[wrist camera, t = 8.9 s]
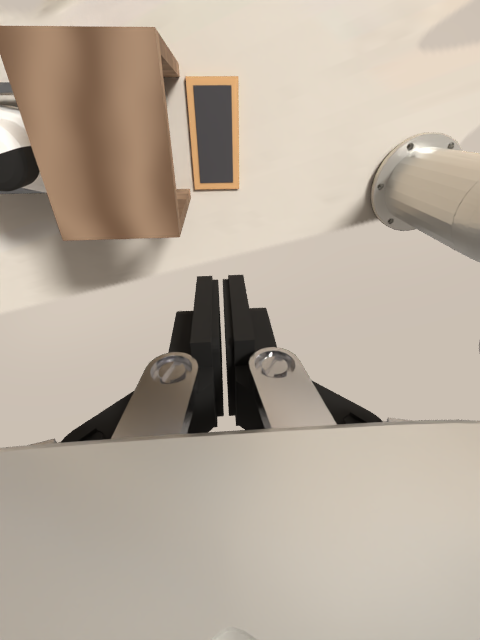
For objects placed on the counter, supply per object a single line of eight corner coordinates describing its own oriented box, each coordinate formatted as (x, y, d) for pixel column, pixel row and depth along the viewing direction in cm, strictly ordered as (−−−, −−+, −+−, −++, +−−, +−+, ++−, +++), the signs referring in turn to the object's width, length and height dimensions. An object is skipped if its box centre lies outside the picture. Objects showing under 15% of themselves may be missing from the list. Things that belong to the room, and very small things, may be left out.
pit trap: (238, 76, 35) (238, 76, 35) (238, 188, 42) (239, 188, 42) (185, 76, 35) (185, 76, 35) (195, 188, 42) (194, 189, 41)
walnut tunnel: (178, 63, 34) (154, 27, 21) (190, 198, 42) (179, 237, 29) (81, 63, 34) (-10, 25, 20) (112, 200, 42) (62, 240, 28)
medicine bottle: (79, 184, 40) (35, 206, 30) (19, 171, 39) (-47, 190, 29) (76, 121, 37) (24, 122, 27) (10, 105, 35) (-71, 100, 25)
